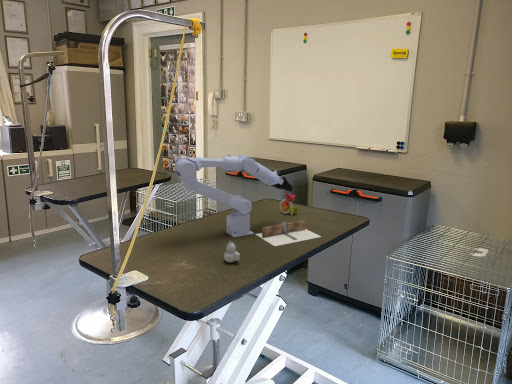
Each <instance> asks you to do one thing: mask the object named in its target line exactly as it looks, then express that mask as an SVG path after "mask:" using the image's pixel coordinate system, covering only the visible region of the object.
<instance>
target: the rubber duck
mask: <svg viewBox="0 0 512 384" xmlns="http://www.w3.org/2000/svg"><path fill="white" fill-rule="evenodd" d="M236 248H237V247H236V245H235V243H234V242H233V241H231V240H229V242H228V243H227V245H226V246H225V250H226V251H225V252H224V253H223V257H224V261H225V262H227V263H234V262H237V261H240V257H241V253H240V252H238V250H237V249H236Z"/></svg>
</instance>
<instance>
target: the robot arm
mask: <svg viewBox="0 0 512 384" xmlns="http://www.w3.org/2000/svg"><path fill="white" fill-rule="evenodd" d="M218 167H219V168H221V169H222V170H224V171H241V170H242V171H244V172H245V173H249V174H250V175H251V176H253V177H255V178H256V179H257V180H259V181H261V182H263V183H265V184H266V186H267V187H273V188H276V189H278V190H285V191H287V192H289V193H290V192H293V189H294V187H293V185H291V184H290V182H289V181H288V180H287V178H286V177H285V176H282V178H280V176H279V175H278V171H277V170H273V171H272V170H270V169H269V168H268V167H266V166H264V165H262V163H259V162H257V161H256V160H255V159H254V158H253V157H249V156H247V155H242V154H238V155H232V154H226V155H223V156H222V157H221V158H212V157H211V158H210V157H192V156H191V157H187V158H186V157H180V158H177V160H176V161H175V163H174V170H175V174H176V176H178V178H179V179H180V182H181V183H182V184H183V186H184V187H185V189H186V190H188V191H190V192H192V193H194V194H195V193H196V194H198V195H200V196H203V197H206V198H208V199H211V200H213V201H215V202H218V203H221V204H224V205H226V206H228V207H230V208H232V213H230V214H227V216H226V231H225V233H227V234H228V235H229V236H231V237H233V238H239V237H242V236H244V237H245V236H249V235H254V234H255V233H254V231H252V230H251V223H250V222H251V220H250V219H251V215H250V214H251V213H250V212H251V211H252V208H253V206H252V202H251V201H250V200H249V199H246V198H244V197H243V196H242V195H240V194H237V195H235V194H231V193H228V192H225V191H223V190H221V189H218V188H215V187H213V186H211V185H208V184H206V183H204V182H201V181H198V179H197V176H196V174H197V172H200V171H201V170H202V168H218Z"/></svg>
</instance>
